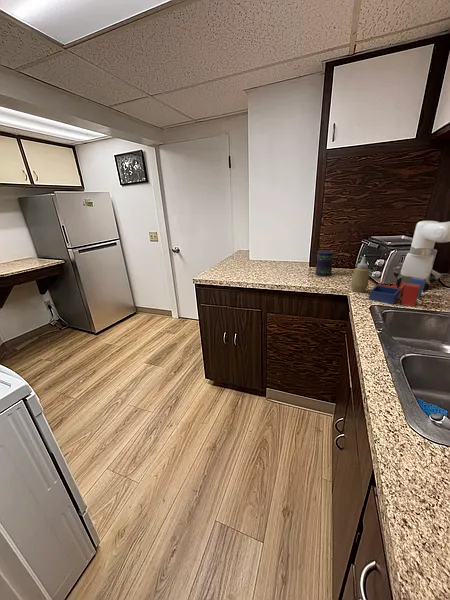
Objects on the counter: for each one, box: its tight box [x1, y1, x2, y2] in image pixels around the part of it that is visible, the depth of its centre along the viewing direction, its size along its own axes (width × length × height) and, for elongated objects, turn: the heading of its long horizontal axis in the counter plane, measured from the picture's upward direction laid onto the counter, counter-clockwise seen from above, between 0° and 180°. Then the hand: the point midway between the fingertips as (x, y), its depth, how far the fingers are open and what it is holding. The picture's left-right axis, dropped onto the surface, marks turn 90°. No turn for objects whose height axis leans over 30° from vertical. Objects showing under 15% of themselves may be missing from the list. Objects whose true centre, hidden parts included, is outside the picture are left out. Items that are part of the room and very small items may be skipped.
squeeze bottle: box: [350, 256, 370, 293], centre depth 128 cm, size 8×8×18 cm
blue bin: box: [368, 284, 400, 305], centre depth 119 cm, size 10×10×4 cm
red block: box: [400, 282, 420, 307], centre depth 111 cm, size 5×5×9 cm
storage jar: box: [315, 249, 335, 277], centre depth 160 cm, size 10×10×15 cm
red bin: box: [377, 281, 407, 298], centre depth 127 cm, size 10×10×4 cm
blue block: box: [409, 277, 426, 299], centre depth 119 cm, size 5×5×9 cm
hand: (410, 289), depth 111 cm, fingers open, 9 cm apart
